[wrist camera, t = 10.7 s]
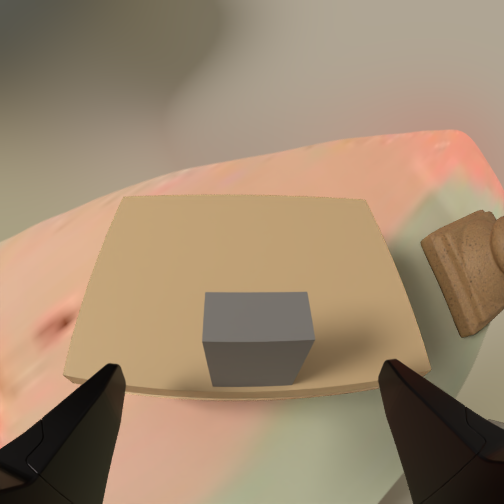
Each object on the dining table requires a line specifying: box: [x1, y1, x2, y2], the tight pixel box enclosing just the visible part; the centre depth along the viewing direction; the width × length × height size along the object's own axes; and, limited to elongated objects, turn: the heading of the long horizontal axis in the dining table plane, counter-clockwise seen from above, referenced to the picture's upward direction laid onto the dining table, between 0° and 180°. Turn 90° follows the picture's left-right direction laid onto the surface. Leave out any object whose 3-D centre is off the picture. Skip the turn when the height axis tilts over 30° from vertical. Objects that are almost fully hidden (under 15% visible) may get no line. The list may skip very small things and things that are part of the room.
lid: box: [63, 195, 431, 398], centre depth 13 cm, size 12×16×5 cm
